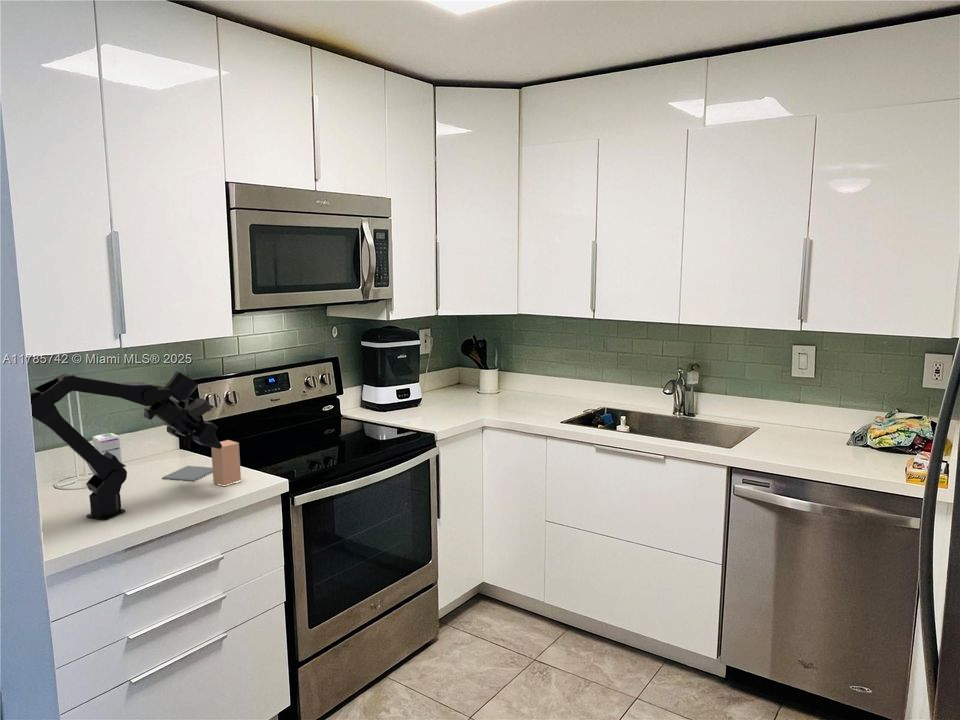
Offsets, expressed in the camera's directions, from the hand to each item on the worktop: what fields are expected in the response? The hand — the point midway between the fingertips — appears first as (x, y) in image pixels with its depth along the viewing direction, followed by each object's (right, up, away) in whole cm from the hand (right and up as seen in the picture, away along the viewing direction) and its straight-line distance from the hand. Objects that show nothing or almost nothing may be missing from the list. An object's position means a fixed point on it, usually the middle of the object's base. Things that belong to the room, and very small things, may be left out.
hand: (212, 444), depth 194 cm
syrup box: (-32, -12, +5) cm, 35 cm away
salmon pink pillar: (+2, -12, +5) cm, 13 cm away
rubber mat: (-12, -11, +13) cm, 20 cm away
